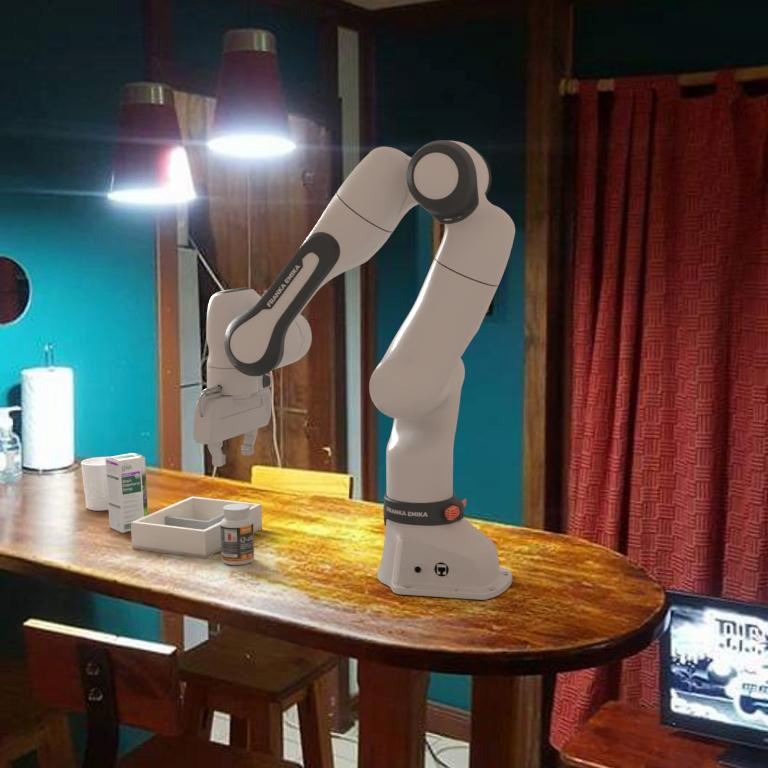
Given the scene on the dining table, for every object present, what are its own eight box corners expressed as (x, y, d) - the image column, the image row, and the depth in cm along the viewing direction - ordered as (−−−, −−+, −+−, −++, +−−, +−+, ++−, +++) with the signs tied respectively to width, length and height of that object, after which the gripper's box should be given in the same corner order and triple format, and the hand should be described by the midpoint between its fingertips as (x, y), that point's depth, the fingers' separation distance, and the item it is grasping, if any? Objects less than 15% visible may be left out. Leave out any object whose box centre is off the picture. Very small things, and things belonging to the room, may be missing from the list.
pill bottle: (248, 567, 180) (246, 511, 179) (216, 565, 181) (215, 510, 180) (258, 557, 185) (256, 503, 184) (228, 555, 187) (226, 501, 185)
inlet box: (262, 528, 203) (261, 504, 202) (205, 558, 185) (204, 531, 184) (192, 520, 209) (192, 496, 208) (132, 548, 191) (130, 522, 190)
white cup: (129, 505, 222) (127, 459, 220) (101, 513, 215) (99, 466, 214) (104, 500, 226) (101, 455, 224) (75, 508, 219) (73, 462, 218)
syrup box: (122, 533, 200) (119, 460, 198) (108, 527, 205) (105, 455, 203) (149, 528, 204) (146, 456, 202) (134, 522, 209) (131, 451, 206)
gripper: (215, 391, 168) (216, 474, 170) (277, 375, 187) (277, 450, 189) (183, 388, 170) (184, 470, 173) (247, 373, 189) (247, 447, 191)
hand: (233, 460), depth 181 cm, fingers open, 8 cm apart
